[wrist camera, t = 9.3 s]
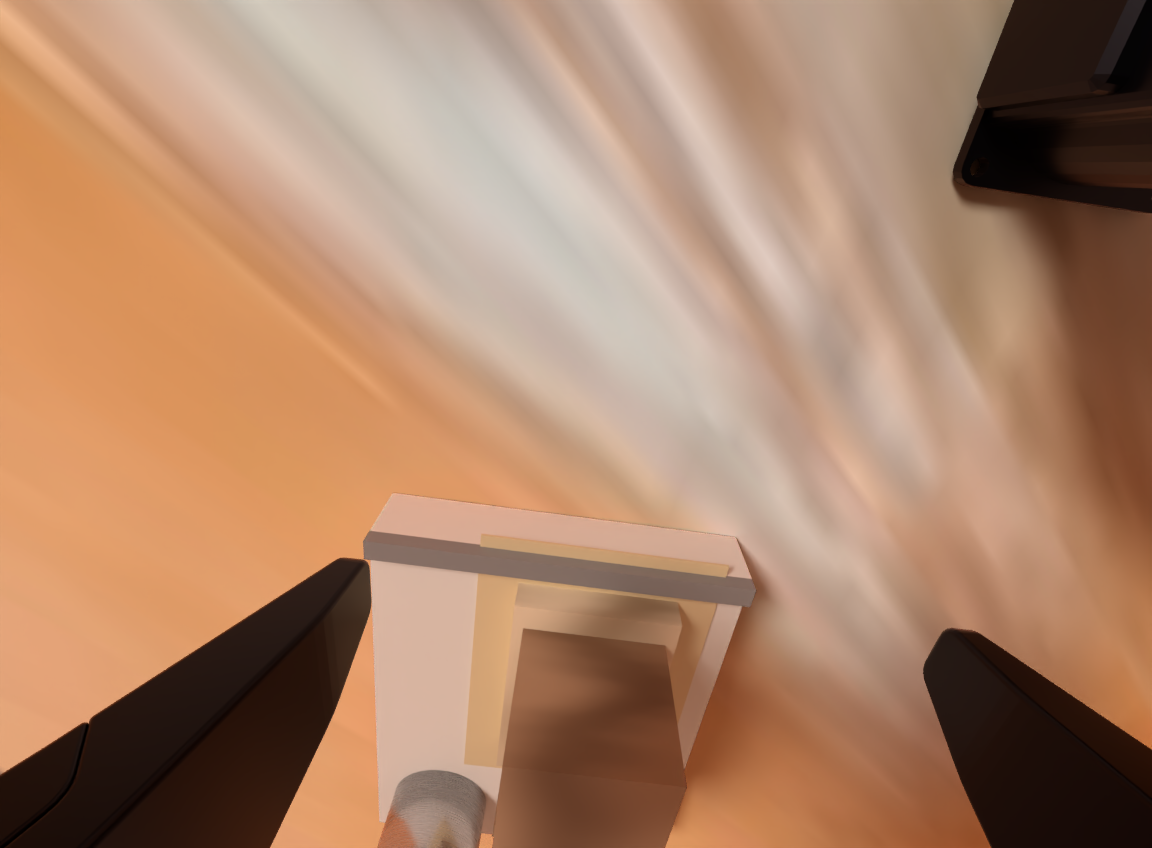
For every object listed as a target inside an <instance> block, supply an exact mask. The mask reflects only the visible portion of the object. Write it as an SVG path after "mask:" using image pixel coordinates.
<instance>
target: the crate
mask: <svg viewBox="0 0 1152 848" xmlns="http://www.w3.org/2000/svg"><path fill="white" fill-rule="evenodd" d="M681 629H682V623H681V618H680V613H679V607H678V602H673V601H664V600H656V599H648V598H640V597H632V596H624V595H616V594H608V593H600V592H592V591H584V590H576V589H568V588H560V587H552V586H544V585H536V584H527V583H518V589H517V594H516V600H515V605H514V614H513V623H512V631H511V640H510V649H509V658H508V666H507V675H506V684H505V693H504V702H503V710H502V719H501V728H500V737H499V745H498V754H497V763H496V766H502V773H501V780H500V786H499V793H498V800H497V806H496V813H495V820H494V826H493V835H492V836H493V837H494V838H493V847H492V848H665V846H666V843H667V841H668V838H669V835H670V832H671V830H672V827H673V824H674V821H675V819H676V816H677V813H678V810H679V808H680V805H681V802H682V799H683V797H684V794H685V791H686V789H687V785H686V778H685V772H684V765H683V758H682V752H681V745H680V739H679V732H678V725H677V719H676V712H675V706H674V699H673V692H672V686H671V679H670V673H669V669H670V666H671V663H672V659H673V656H674V653H675V649H676V646H677V642H678V639H679V636H680V632H681Z"/></svg>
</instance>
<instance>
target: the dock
mask: <svg viewBox="0 0 1152 848" xmlns="http://www.w3.org/2000/svg"><path fill="white" fill-rule="evenodd" d="M363 547H364V559H367V560H371V586H372V616H373V645H374V675H375V704H376V733H377V763H378V792H379V822H384V823H385V822H386V818H387V815H388V812H389V809H390V806H391V803H392V800H393V796H394V793H395V790H396V787H397V785H398V783H399V782H400V781H401V780H402V779H403V778H405V777H406V776H408V775H410V774H412V773H416V772H419V771H425V770H443V771H449V772H453V773H456V774H460V775H462V776H464V777H466V778H468V779H470V780H472V781H473V782H474V783H476V784H477V785H478V786H479V787H480V788H481V789H482V791H483V792H484V794H485V797H486V808H485V814H484V820H483V826H482V832H481V833H485V834H493V826H494V820H495V813H496V806H497V800H498V793H499V786H500V780H501V773H502V766H496V763H497V754H498V745H499V737H500V728H501V719H502V710H503V702H504V693H505V684H506V675H507V666H508V658H509V649H510V640H511V631H512V623H513V614H514V605H515V600H516V594H517V589H518V583H527V584H536V585H544V586H552V587H560V588H568V589H576V590H584V591H592V592H600V593H608V594H616V595H624V596H632V597H640V598H648V599H656V600H664V601H673V602H678V607H679V613H680V618H681V623H682V629H681V632H680V636H679V639H678V642H677V646H676V649H675V653H674V656H673V659H672V663H671V666H670V669H669V673H670V679H671V686H672V692H673V699H674V706H675V712H676V719H677V725H678V732H679V739H680V745H681V752H682V758H683V765H684V770H685V767H686V764H687V761H688V758H689V755H690V753H691V750H692V747H693V744H694V741H695V739H696V736H697V733H698V730H699V727H700V724H701V722H702V719H703V716H704V713H705V710H706V707H707V705H708V702H709V699H710V696H711V693H712V690H713V688H714V685H715V682H716V679H717V676H718V674H719V671H720V668H721V665H722V662H723V659H724V657H725V654H726V651H727V648H728V645H729V642H730V640H731V637H732V634H733V631H734V628H735V625H736V623H737V620H738V617H739V614H740V611H741V609H742V606H743V607H751V604H752V601H753V598H754V596H755V593H756V588H755V586H754V583H753V581H752V578H751V575H750V573H749V570H748V568H747V565H746V562H745V560H744V557H743V555H742V552H741V549H740V547H739V544H738V542H737V539H736V537H731V536H723V535H715V534H708V533H700V532H692V531H684V530H677V529H669V528H661V527H653V526H646V525H638V524H630V523H622V522H615V521H607V520H599V519H591V518H584V517H576V516H568V515H560V514H553V513H545V512H537V511H529V510H522V509H514V508H506V507H499V506H491V505H483V504H475V503H468V502H460V501H452V500H444V499H437V498H429V497H421V496H413V495H406V494H398V493H392V495H391V496H390V498H389V500H388V501H387V503H386V505H385V506H384V508H383V510H382V511H381V513H380V514H379V516H378V518H377V519H376V521H375V523H374V524H373V526H372V528H371V529H370V531H369V532H368V534H367V536H366V537H365V539H364V541H363Z"/></svg>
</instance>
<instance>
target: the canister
mask: <svg viewBox="0 0 1152 848" xmlns="http://www.w3.org/2000/svg"><path fill="white" fill-rule="evenodd" d="M485 808H486V797H485V794H484V792H483V791H482V789H481V788H480V787H479V786H478V785H477V784H476V783H474V782H473V781H472V780H470V779H468V778H466V777H464V776H462V775H460V774H456V773H453V772H449V771H443V770H425V771H419V772H416V773H412V774H410V775H408V776H406V777H405V778H403V779H402V780H401V781H400V782H399V783H398V785H397V787H396V790H395V793H394V796H393V800H392V803H391V806H390V809H389V812H388V815H387V818H386V822H385V825H384V828H383V831H382V834H381V837H380V840H379V844H378V847H377V848H479V844H480V838H481V832H482V826H483V820H484V814H485Z"/></svg>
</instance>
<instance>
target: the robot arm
mask: <svg viewBox="0 0 1152 848" xmlns="http://www.w3.org/2000/svg"><path fill="white" fill-rule="evenodd" d="M977 101H978V106H977V109H976V111H975V114H974V116H973V119H972V121H971V124H970V127H969V129H968V132H967V134H966V137H965V139H964V142H963V144H962V147H961V149H960V152H959V154H958V157H957V160H956V162H955V165H954V169H953V175H954V179H955V180H956V181H957V183H959V184H961V185H964V186H971V187H977V188H984V189H991V190H997V191H1004V192H1010V193H1017V194H1023V195H1030V196H1036V197H1043V198H1049V199H1056V200H1062V201H1069V202H1075V203H1082V204H1089V205H1095V206H1102V207H1108V208H1115V209H1121V210H1128V211H1134V212H1142V213H1152V0H1014V2H1013V5H1012V8H1011V10H1010V13H1009V15H1008V18H1007V20H1006V23H1005V25H1004V28H1003V31H1002V33H1001V36H1000V38H999V41H998V43H997V46H996V49H995V51H994V54H993V56H992V59H991V61H990V64H989V66H988V69H987V72H986V74H985V77H984V79H983V82H982V84H981V87H980V89H979V92H978V95H977ZM976 159H979V162H980V168H979V170H978V171H977V173H976V174H974V175H972V174H971V172H970V168H971V165H972V163H973V162H974V161H975V160H976ZM370 609H371V585H370V569H369V565H368V563H367V562H366V561H365V560H361V559H352V558H339V559H337V560H335V561H334V562H332V563H330V564H329V565H327V566H326V567H324V568H323V569H321V570H320V571H318V572H316V573H315V574H313V575H312V576H310V577H309V578H307V579H306V580H304V581H302V582H301V583H299V584H298V585H296V586H295V587H293V588H292V589H290V590H288V591H287V592H285V593H284V594H282V595H281V596H279V597H278V598H276V599H274V600H273V601H271V602H270V603H268V604H267V605H265V606H264V607H262V608H260V609H259V610H257V611H256V612H254V613H253V614H251V615H250V616H248V617H247V618H245V619H243V620H242V621H240V622H239V623H237V624H236V625H234V626H233V627H231V628H229V629H228V630H226V631H225V632H223V633H222V634H220V635H219V636H217V637H215V638H214V639H212V640H211V641H209V642H208V643H206V644H205V645H203V646H201V647H200V648H198V649H197V650H195V651H194V652H192V653H191V654H189V655H187V656H186V657H184V658H183V659H181V660H180V661H178V662H177V663H175V664H173V665H172V666H170V667H169V668H167V669H166V670H164V671H163V672H161V673H160V674H158V675H156V676H155V677H153V678H152V679H150V680H149V681H147V682H146V683H144V684H142V685H141V686H139V687H138V688H136V689H135V690H133V691H132V692H130V693H128V694H127V695H125V696H124V697H122V698H121V699H119V700H118V701H116V702H114V703H113V704H111V705H110V706H108V707H107V708H105V709H104V710H102V711H100V712H99V713H97V714H96V715H94V716H93V717H92V718H91V719H90V721H89V724H88V723H82V724H80V725H78V726H77V727H75V728H74V729H72V730H71V731H69V732H67V733H66V734H64V735H63V736H61V737H60V738H58V739H57V740H55V741H53V742H52V743H50V744H49V745H47V746H46V747H44V748H42V749H41V750H39V751H38V752H36V753H34V754H33V755H31V756H30V757H28V758H26V759H25V760H23V761H22V762H20V763H18V764H17V765H15V766H14V767H12V768H10V769H9V770H7V771H6V772H4V773H2V774H1V775H0V848H270V847H271V845H272V842H273V840H274V838H275V836H276V834H277V832H278V830H279V828H280V826H281V824H282V822H283V820H284V817H285V815H286V813H287V811H288V809H289V807H290V805H291V803H292V801H293V799H294V797H295V794H296V792H297V790H298V788H299V786H300V784H301V782H302V780H303V778H304V776H305V774H306V772H307V769H308V767H309V765H310V763H311V761H312V759H313V757H314V755H315V753H316V751H317V749H318V746H319V744H320V742H321V740H322V738H323V736H324V734H325V732H326V730H327V728H328V725H329V723H330V721H331V719H332V716H333V714H334V712H335V709H336V706H337V704H338V701H339V699H340V696H341V693H342V690H343V687H344V685H345V682H346V679H347V676H348V673H349V671H350V668H351V665H352V662H353V659H354V656H355V654H356V651H357V648H358V645H359V642H360V640H361V637H362V634H363V631H364V628H365V625H366V623H367V620H368V617H369V613H370ZM923 674H924V680H925V683H926V686H927V689H928V692H929V694H930V697H931V700H932V703H933V705H934V708H935V711H936V714H937V717H938V719H939V722H940V725H941V728H942V731H943V733H944V736H945V739H946V742H947V744H948V747H949V750H950V753H951V756H952V758H953V761H954V764H955V767H956V769H957V772H958V774H959V777H960V780H961V782H962V784H963V787H964V789H965V791H966V794H967V796H968V798H969V801H970V803H971V805H972V807H973V809H974V811H975V814H976V816H977V818H978V820H979V822H980V824H981V827H982V829H983V831H984V833H985V835H986V837H987V840H988V842H989V844H990V846H991V848H1152V750H1151V749H1150V748H1148V747H1147V746H1145V745H1144V744H1143V743H1141V742H1140V741H1138V740H1137V739H1135V738H1134V737H1132V736H1131V735H1129V734H1128V733H1126V732H1125V731H1123V730H1122V729H1120V728H1119V727H1117V726H1116V725H1114V724H1113V723H1111V722H1110V721H1109V720H1107V719H1106V718H1104V717H1103V716H1101V715H1100V714H1098V713H1097V712H1095V711H1094V710H1092V709H1091V708H1089V707H1088V706H1086V705H1085V704H1083V703H1082V702H1080V701H1079V700H1077V699H1076V698H1074V697H1073V696H1072V695H1070V694H1069V693H1067V692H1066V691H1064V690H1063V689H1061V688H1060V687H1058V686H1057V685H1055V684H1054V683H1052V682H1051V681H1049V680H1048V679H1046V678H1045V677H1043V676H1042V675H1040V674H1039V673H1038V672H1036V671H1035V670H1033V669H1032V668H1030V667H1029V666H1027V665H1026V664H1024V663H1023V662H1021V661H1020V660H1018V659H1017V658H1015V657H1014V656H1012V655H1011V654H1009V653H1008V652H1006V651H1005V650H1004V649H1002V648H1001V647H999V646H998V645H996V644H995V643H993V642H992V641H990V640H989V639H987V638H986V637H984V636H983V635H981V634H980V633H978V632H975V631H972V630H964V629H956V628H949V629H946V630H945V631H943V632H942V633H941V635H940V636H939V638H938V640H937V642H936V644H935V645H934V647H933V649H932V651H931V652H930V654H929V656H928V658H927V660H926V661H925V664H924V668H923Z"/></svg>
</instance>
